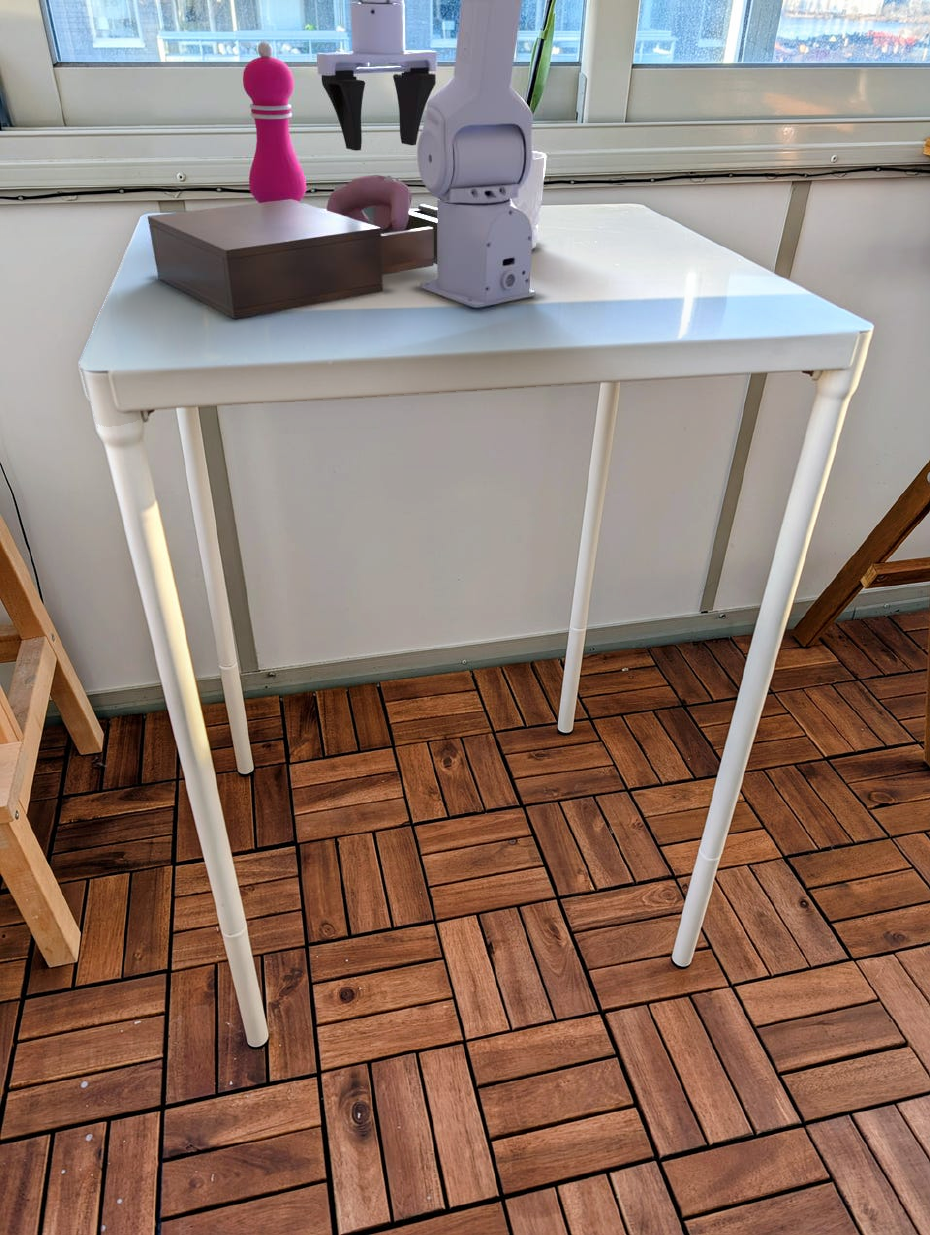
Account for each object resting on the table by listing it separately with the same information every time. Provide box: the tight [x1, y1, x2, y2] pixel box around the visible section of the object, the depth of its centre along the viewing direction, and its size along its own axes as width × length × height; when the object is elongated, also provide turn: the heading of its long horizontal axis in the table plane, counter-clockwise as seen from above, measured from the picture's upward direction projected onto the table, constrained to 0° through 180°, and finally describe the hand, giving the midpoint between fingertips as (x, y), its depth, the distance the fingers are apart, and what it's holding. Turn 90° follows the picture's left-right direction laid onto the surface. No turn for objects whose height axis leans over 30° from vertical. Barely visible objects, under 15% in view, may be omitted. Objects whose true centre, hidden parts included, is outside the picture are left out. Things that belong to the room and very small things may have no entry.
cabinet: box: [147, 199, 384, 320], centre depth 92 cm, size 17×18×6 cm
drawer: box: [323, 203, 437, 276], centre depth 98 cm, size 20×16×4 cm
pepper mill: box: [242, 41, 307, 203], centre depth 112 cm, size 7×7×20 cm
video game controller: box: [326, 174, 413, 232], centre depth 98 cm, size 10×5×7 cm, turn 73°
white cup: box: [511, 150, 547, 250], centre depth 106 cm, size 8×8×10 cm
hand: (381, 146), depth 103 cm, fingers open, 7 cm apart
